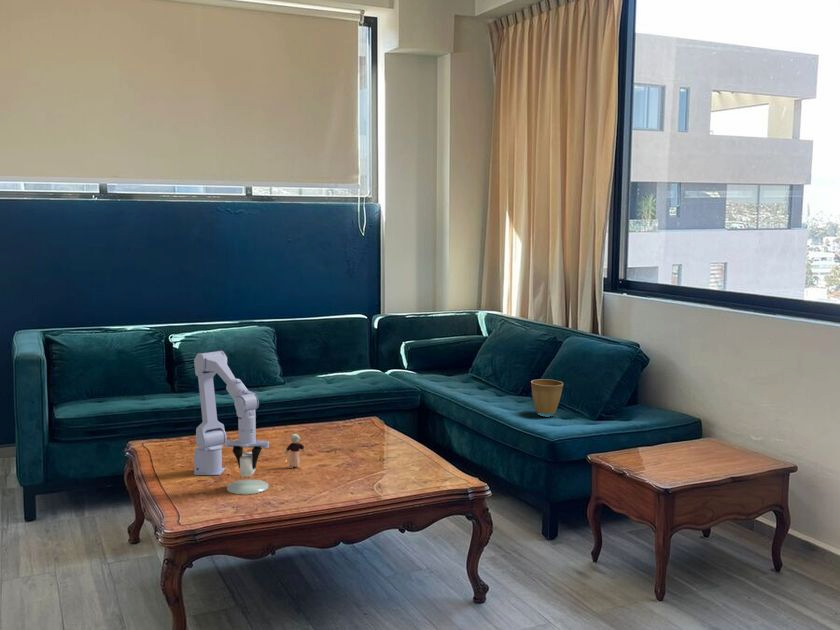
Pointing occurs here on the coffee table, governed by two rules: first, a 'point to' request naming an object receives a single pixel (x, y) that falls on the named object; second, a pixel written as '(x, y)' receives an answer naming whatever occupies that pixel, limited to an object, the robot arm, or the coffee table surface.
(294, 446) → the grandmother figurine
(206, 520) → the coffee table surface
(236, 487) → the sage plate
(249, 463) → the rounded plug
